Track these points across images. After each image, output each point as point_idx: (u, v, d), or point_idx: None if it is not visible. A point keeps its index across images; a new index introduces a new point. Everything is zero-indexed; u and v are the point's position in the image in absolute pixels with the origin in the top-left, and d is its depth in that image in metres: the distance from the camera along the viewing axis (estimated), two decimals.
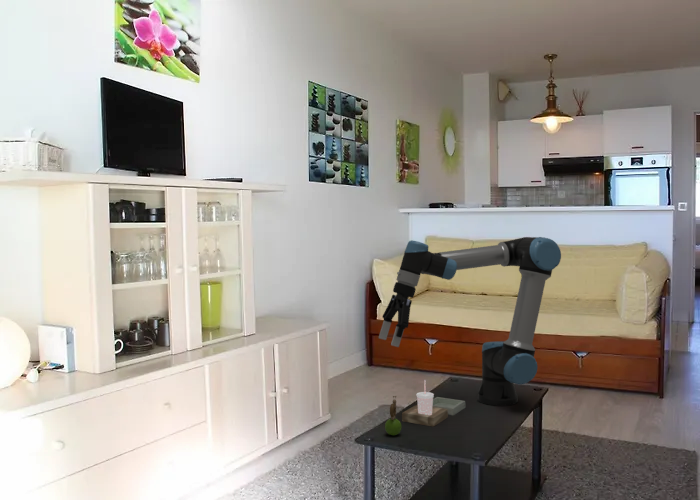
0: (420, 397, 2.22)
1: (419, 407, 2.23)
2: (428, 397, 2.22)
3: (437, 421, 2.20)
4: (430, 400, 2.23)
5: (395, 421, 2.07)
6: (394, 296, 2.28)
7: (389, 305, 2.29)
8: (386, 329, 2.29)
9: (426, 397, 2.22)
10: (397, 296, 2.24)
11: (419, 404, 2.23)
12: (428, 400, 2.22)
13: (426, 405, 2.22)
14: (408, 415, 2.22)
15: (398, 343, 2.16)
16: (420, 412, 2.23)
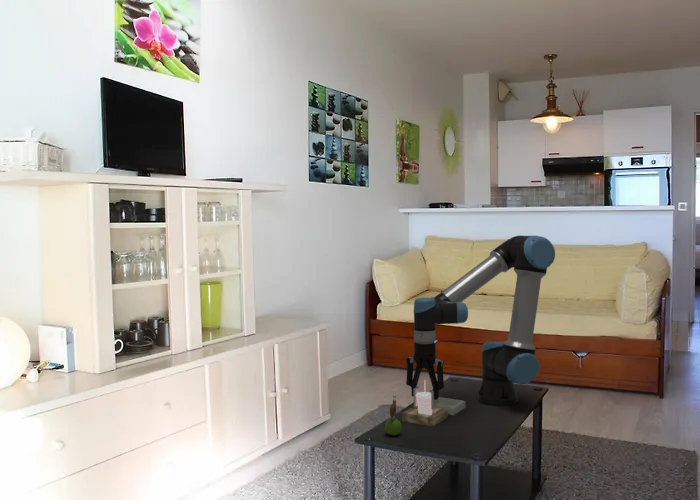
0: (420, 397, 2.22)
1: (419, 407, 2.23)
2: (428, 397, 2.22)
3: (437, 421, 2.20)
4: (430, 400, 2.23)
5: (395, 421, 2.07)
6: (409, 358, 2.27)
7: (410, 369, 2.26)
8: None
9: (426, 397, 2.22)
10: (418, 354, 2.24)
11: (419, 404, 2.23)
12: (428, 400, 2.22)
13: (426, 405, 2.22)
14: (408, 415, 2.22)
15: (435, 404, 2.23)
16: (420, 412, 2.23)
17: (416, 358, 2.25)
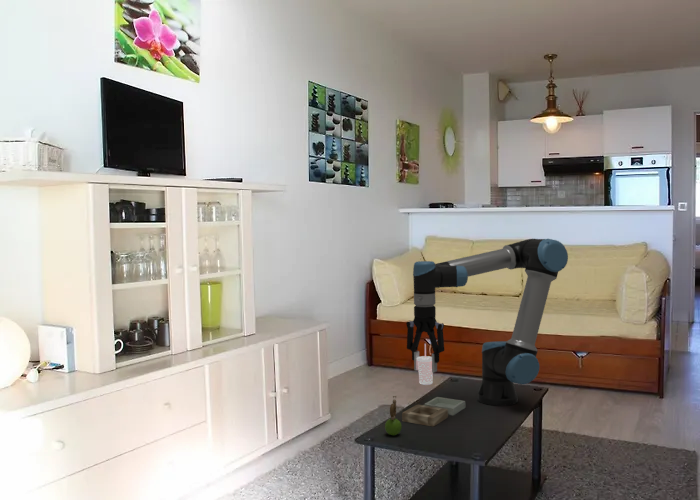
0: (420, 360, 2.22)
1: (420, 371, 2.23)
2: (428, 360, 2.21)
3: (437, 421, 2.20)
4: (431, 363, 2.22)
5: (395, 421, 2.07)
6: (409, 322, 2.26)
7: (410, 333, 2.26)
8: None
9: (426, 360, 2.21)
10: (418, 318, 2.24)
11: (420, 368, 2.23)
12: (429, 363, 2.22)
13: (427, 369, 2.22)
14: (408, 415, 2.22)
15: (436, 367, 2.23)
16: (421, 376, 2.23)
17: (416, 322, 2.24)
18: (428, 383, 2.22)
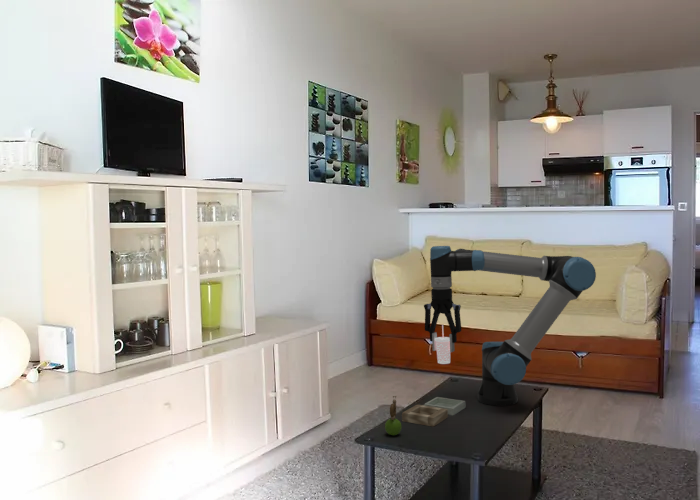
0: (439, 341, 2.32)
1: (438, 351, 2.33)
2: (447, 340, 2.31)
3: (437, 421, 2.20)
4: (448, 343, 2.32)
5: (395, 421, 2.07)
6: (427, 305, 2.36)
7: (428, 315, 2.35)
8: None
9: (445, 340, 2.31)
10: (435, 300, 2.34)
11: (438, 348, 2.33)
12: (447, 343, 2.31)
13: (445, 348, 2.32)
14: (408, 415, 2.22)
15: (454, 347, 2.33)
16: (439, 355, 2.33)
17: (434, 304, 2.34)
18: (446, 362, 2.32)
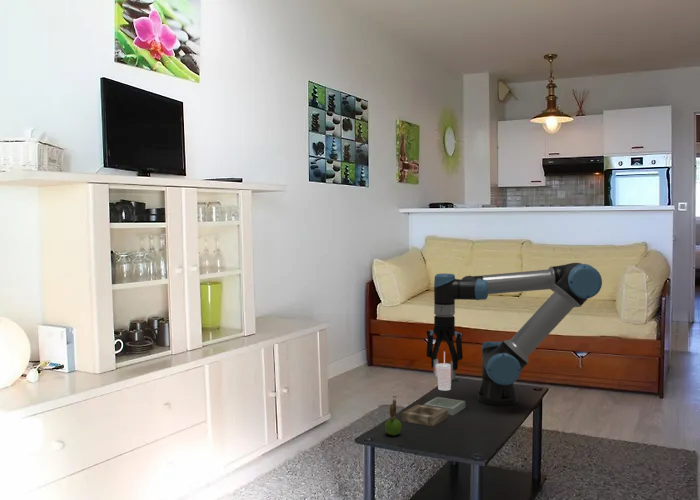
0: (440, 367, 2.34)
1: (439, 377, 2.35)
2: (447, 367, 2.34)
3: (437, 421, 2.20)
4: (449, 370, 2.35)
5: (395, 421, 2.07)
6: (429, 331, 2.38)
7: (430, 341, 2.38)
8: None
9: (446, 367, 2.34)
10: (438, 327, 2.36)
11: (439, 374, 2.35)
12: (447, 370, 2.34)
13: (446, 375, 2.34)
14: (408, 415, 2.22)
15: (454, 374, 2.35)
16: (440, 382, 2.35)
17: (436, 331, 2.37)
18: (447, 389, 2.35)
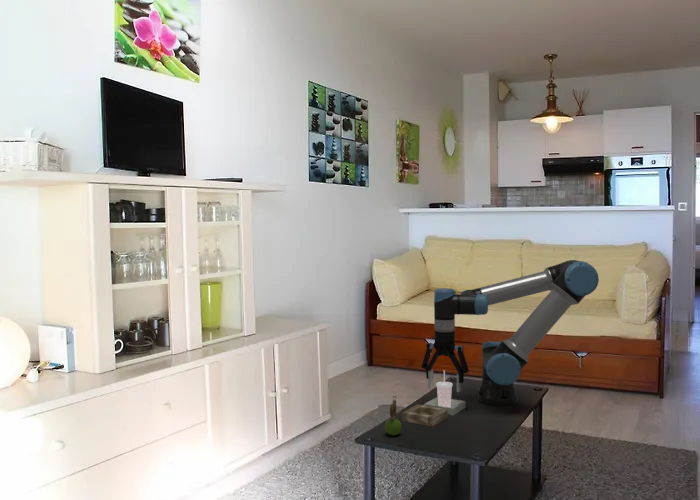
0: (440, 386, 2.35)
1: (439, 396, 2.36)
2: (447, 386, 2.34)
3: (437, 421, 2.20)
4: (449, 389, 2.35)
5: (395, 421, 2.07)
6: (429, 344, 2.39)
7: (428, 354, 2.39)
8: (432, 377, 2.40)
9: (446, 386, 2.34)
10: (438, 343, 2.36)
11: (439, 393, 2.36)
12: (447, 389, 2.34)
13: (446, 394, 2.34)
14: (408, 415, 2.22)
15: (460, 387, 2.34)
16: (440, 400, 2.35)
17: (436, 346, 2.37)
18: None
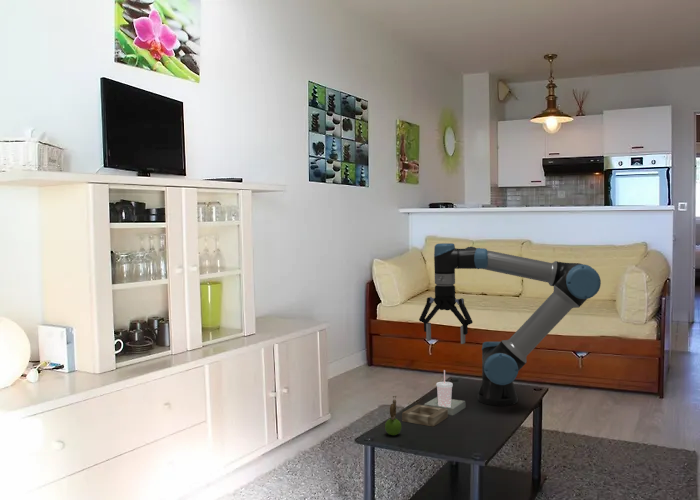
0: (440, 386, 2.35)
1: (439, 396, 2.36)
2: (448, 386, 2.34)
3: (437, 421, 2.20)
4: (449, 389, 2.35)
5: (395, 421, 2.07)
6: (430, 298, 2.39)
7: (427, 308, 2.39)
8: (429, 330, 2.41)
9: (446, 386, 2.34)
10: (439, 298, 2.36)
11: (439, 393, 2.36)
12: (448, 389, 2.34)
13: (446, 394, 2.34)
14: (408, 415, 2.22)
15: (464, 339, 2.34)
16: (440, 400, 2.35)
17: (436, 301, 2.37)
18: None
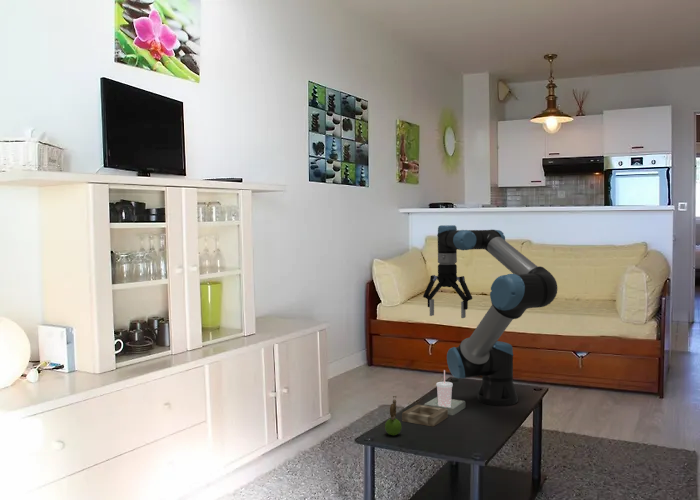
0: (440, 386, 2.35)
1: (439, 396, 2.36)
2: (448, 386, 2.34)
3: (437, 421, 2.20)
4: (449, 389, 2.35)
5: (395, 421, 2.07)
6: (433, 276, 2.58)
7: (430, 285, 2.58)
8: (433, 306, 2.59)
9: (446, 386, 2.34)
10: (442, 276, 2.55)
11: (439, 393, 2.36)
12: (448, 389, 2.34)
13: (446, 394, 2.34)
14: (408, 415, 2.22)
15: (465, 314, 2.53)
16: (440, 400, 2.35)
17: (439, 278, 2.56)
18: None
